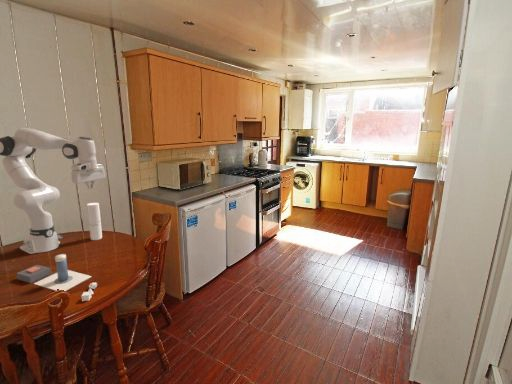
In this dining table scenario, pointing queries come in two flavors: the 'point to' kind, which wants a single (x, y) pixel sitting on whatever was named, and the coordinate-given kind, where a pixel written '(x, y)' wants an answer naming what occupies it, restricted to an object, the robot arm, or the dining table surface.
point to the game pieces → (89, 292)
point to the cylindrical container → (94, 221)
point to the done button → (33, 270)
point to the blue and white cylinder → (61, 267)
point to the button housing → (33, 274)
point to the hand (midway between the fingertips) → (90, 188)
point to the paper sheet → (54, 284)
